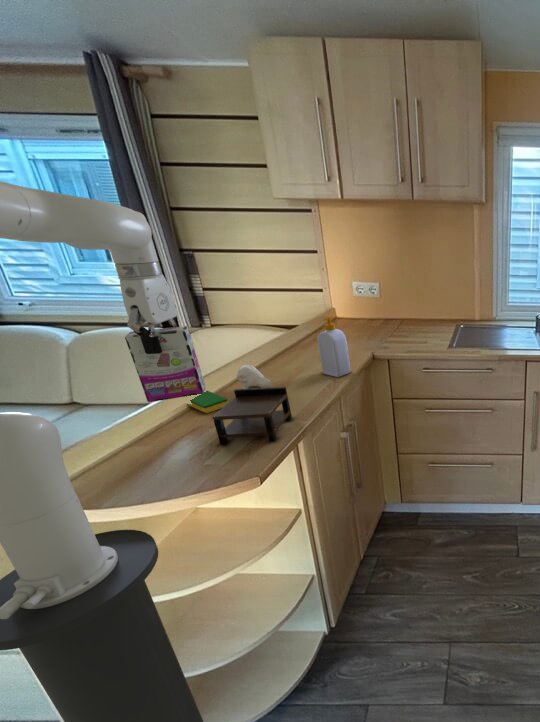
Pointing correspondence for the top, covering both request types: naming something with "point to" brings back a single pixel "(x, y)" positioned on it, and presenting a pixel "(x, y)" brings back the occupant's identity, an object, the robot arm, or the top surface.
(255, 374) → the white rounded lump
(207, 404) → the dish sponge
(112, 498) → the top surface
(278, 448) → the top surface
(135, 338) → the candy bar box
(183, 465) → the top surface
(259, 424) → the rack
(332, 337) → the soap bottle
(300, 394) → the top surface
